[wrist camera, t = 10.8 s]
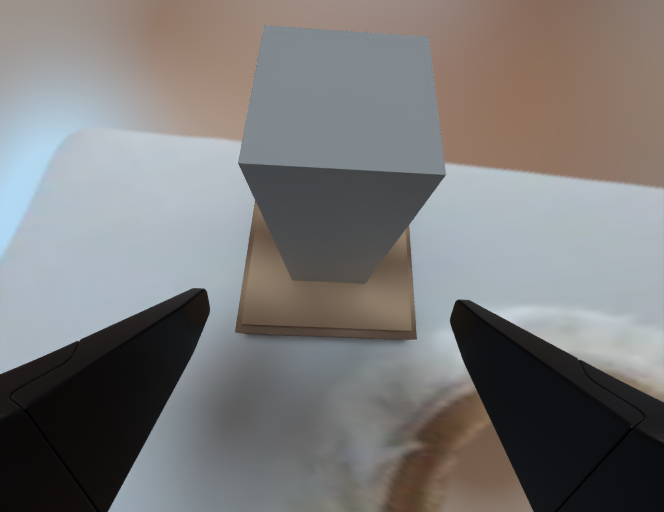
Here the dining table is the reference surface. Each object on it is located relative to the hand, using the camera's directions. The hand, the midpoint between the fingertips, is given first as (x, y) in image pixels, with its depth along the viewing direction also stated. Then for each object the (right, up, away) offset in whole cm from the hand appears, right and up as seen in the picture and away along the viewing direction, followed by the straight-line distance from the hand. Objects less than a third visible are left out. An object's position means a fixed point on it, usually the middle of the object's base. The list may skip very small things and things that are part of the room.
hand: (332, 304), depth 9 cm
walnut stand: (0, +1, +12) cm, 12 cm away
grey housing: (0, +2, +9) cm, 9 cm away
